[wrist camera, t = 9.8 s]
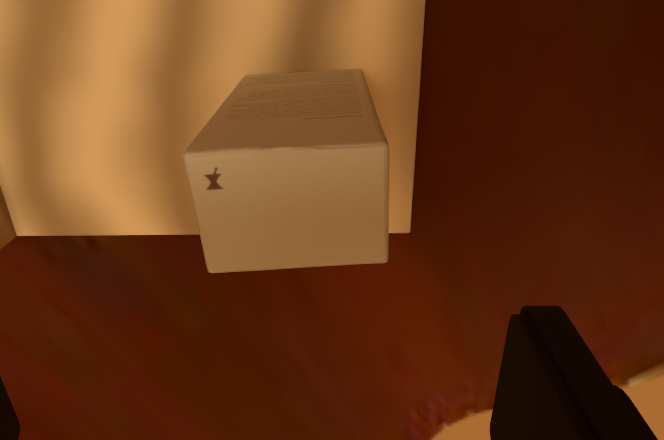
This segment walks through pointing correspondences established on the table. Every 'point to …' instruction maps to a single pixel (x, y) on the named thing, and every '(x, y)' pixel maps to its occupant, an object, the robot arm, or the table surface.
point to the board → (172, 98)
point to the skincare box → (292, 174)
